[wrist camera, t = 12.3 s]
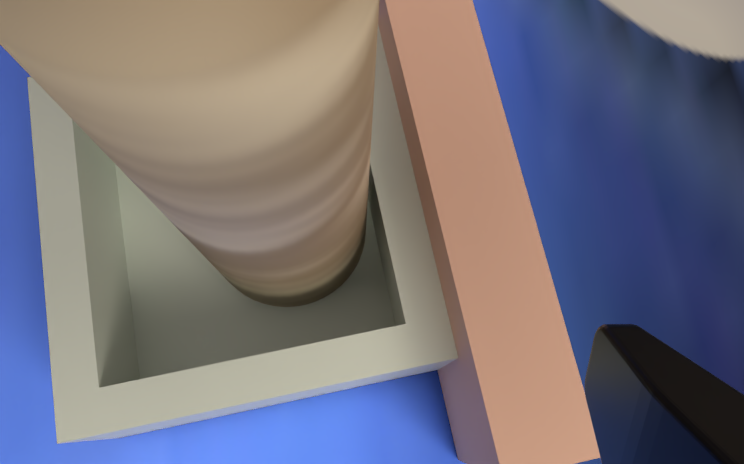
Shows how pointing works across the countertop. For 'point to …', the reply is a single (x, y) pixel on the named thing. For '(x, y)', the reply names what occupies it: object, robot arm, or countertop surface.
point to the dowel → (225, 121)
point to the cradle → (216, 295)
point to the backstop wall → (483, 246)
